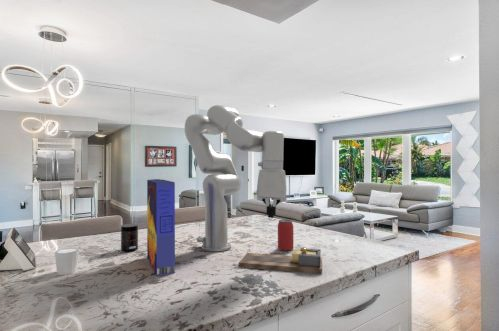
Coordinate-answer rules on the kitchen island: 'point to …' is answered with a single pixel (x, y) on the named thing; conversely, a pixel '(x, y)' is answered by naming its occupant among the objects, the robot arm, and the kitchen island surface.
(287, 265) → the door panel
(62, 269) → the white cup
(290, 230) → the beer can
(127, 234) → the supplement container
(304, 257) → the keeper
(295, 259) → the bolt
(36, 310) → the kitchen island surface
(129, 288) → the kitchen island surface
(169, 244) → the cereal box
